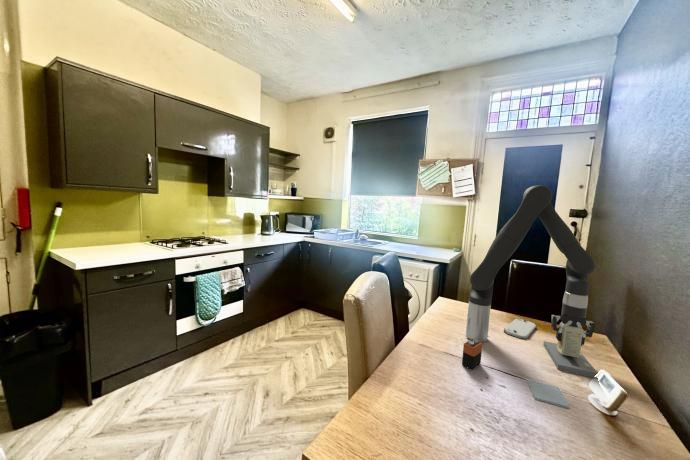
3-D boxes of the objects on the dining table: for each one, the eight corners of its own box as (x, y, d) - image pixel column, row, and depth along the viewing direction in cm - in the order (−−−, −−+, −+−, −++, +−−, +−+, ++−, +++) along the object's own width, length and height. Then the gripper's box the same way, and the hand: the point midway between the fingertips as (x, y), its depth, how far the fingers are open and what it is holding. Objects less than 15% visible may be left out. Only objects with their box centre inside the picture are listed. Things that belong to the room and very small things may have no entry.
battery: (461, 365, 104) (463, 340, 103) (470, 359, 108) (472, 336, 107) (472, 371, 100) (474, 346, 99) (480, 365, 104) (483, 340, 103)
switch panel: (597, 378, 99) (598, 373, 99) (557, 369, 104) (558, 364, 103) (576, 351, 117) (576, 347, 117) (543, 345, 122) (543, 340, 122)
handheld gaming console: (526, 336, 125) (502, 328, 132) (525, 341, 125) (502, 333, 133) (537, 322, 141) (516, 316, 148) (537, 327, 141) (515, 320, 148)
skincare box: (574, 352, 111) (578, 324, 110) (579, 358, 107) (584, 329, 106) (556, 349, 113) (560, 321, 112) (560, 354, 109) (564, 326, 108)
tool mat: (534, 399, 87) (534, 397, 87) (527, 380, 96) (527, 379, 96) (569, 408, 83) (569, 406, 83) (558, 388, 92) (558, 387, 92)
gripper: (556, 303, 107) (550, 342, 109) (602, 310, 102) (596, 352, 103) (550, 297, 114) (545, 334, 116) (593, 304, 108) (587, 343, 110)
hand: (569, 342), depth 110 cm, fingers closed on skincare box, 6 cm apart
